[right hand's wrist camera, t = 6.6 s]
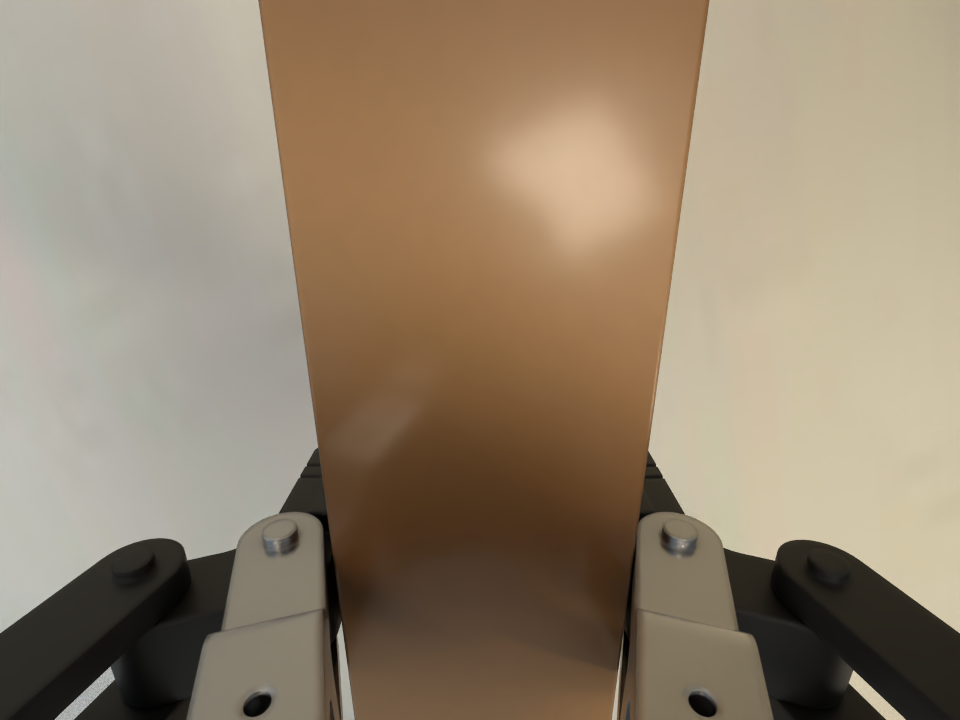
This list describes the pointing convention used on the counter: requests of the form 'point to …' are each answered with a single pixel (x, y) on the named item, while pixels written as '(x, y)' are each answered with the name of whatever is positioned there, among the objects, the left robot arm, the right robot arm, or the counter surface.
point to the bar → (483, 327)
